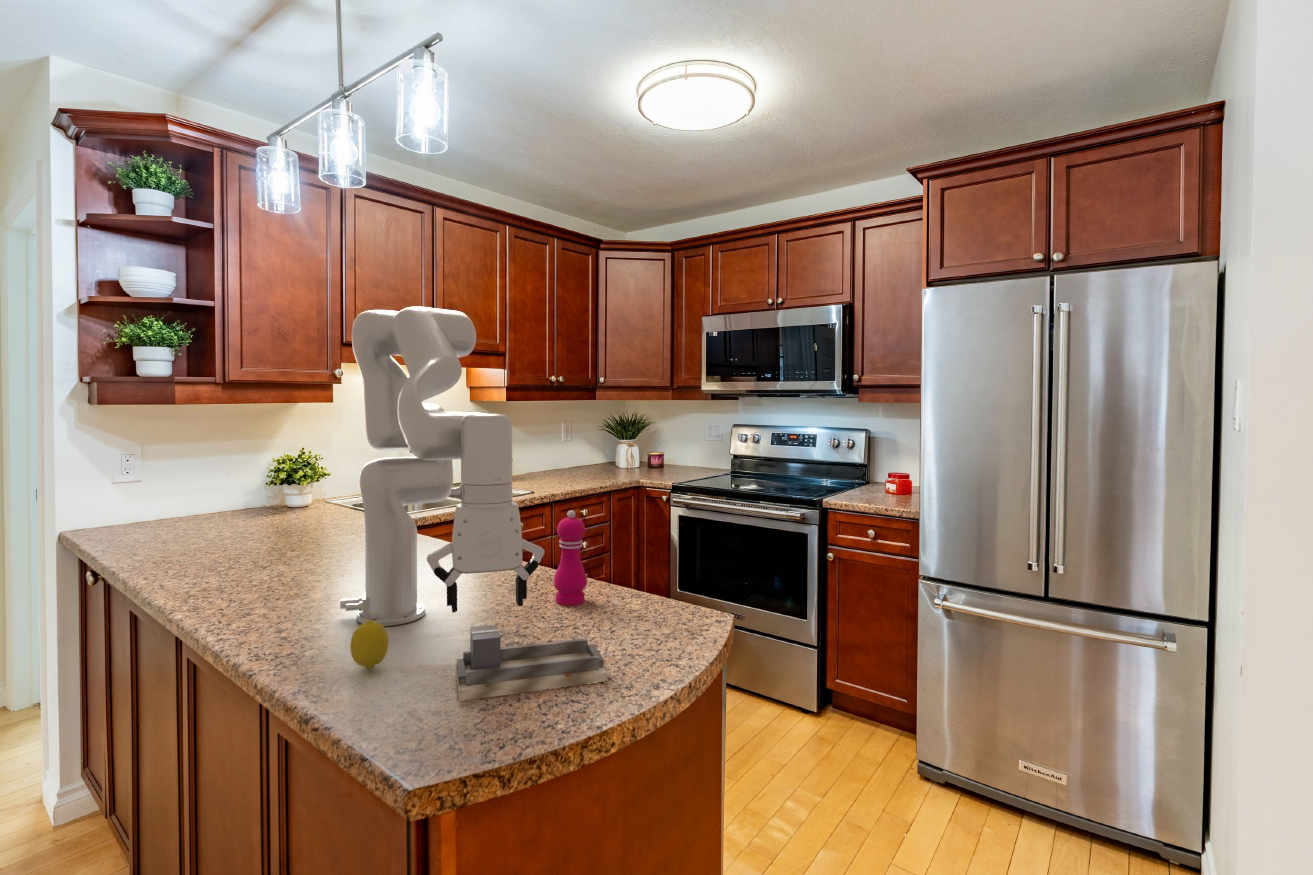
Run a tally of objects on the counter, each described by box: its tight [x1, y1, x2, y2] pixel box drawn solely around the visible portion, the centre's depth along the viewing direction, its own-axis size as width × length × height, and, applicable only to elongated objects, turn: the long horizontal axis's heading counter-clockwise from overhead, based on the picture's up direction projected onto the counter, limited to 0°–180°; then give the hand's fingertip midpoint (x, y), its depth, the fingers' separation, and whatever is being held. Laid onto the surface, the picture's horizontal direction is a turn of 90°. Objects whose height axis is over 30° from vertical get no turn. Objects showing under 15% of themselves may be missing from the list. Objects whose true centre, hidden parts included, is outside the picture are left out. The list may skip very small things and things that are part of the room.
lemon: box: [349, 620, 389, 671], centre depth 102 cm, size 6×6×8 cm
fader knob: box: [469, 624, 501, 670], centre depth 99 cm, size 4×6×6 cm
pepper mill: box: [553, 509, 588, 607], centre depth 139 cm, size 7×7×20 cm
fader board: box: [455, 638, 608, 702], centre depth 101 cm, size 22×11×4 cm, turn 110°
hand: (487, 606), depth 98 cm, fingers open, 9 cm apart
